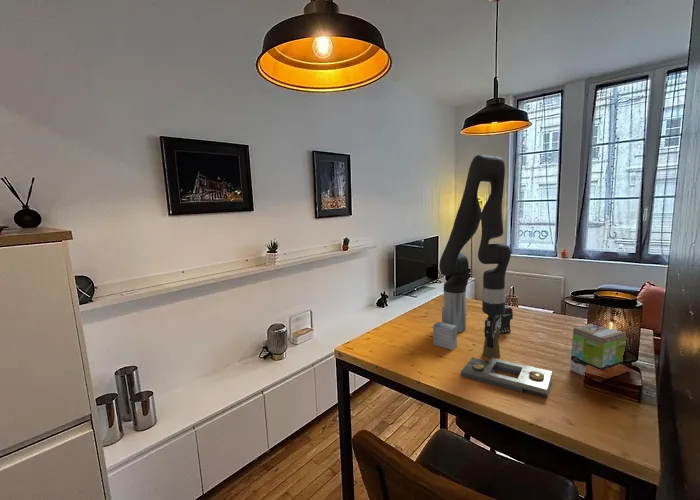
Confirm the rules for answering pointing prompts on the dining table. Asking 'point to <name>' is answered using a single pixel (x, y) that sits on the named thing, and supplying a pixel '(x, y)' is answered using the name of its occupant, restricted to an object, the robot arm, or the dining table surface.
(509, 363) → the upper link plate
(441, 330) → the medicine box
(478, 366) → the lower link plate
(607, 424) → the dining table surface
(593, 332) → the tea box
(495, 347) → the cork
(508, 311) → the battery charger
